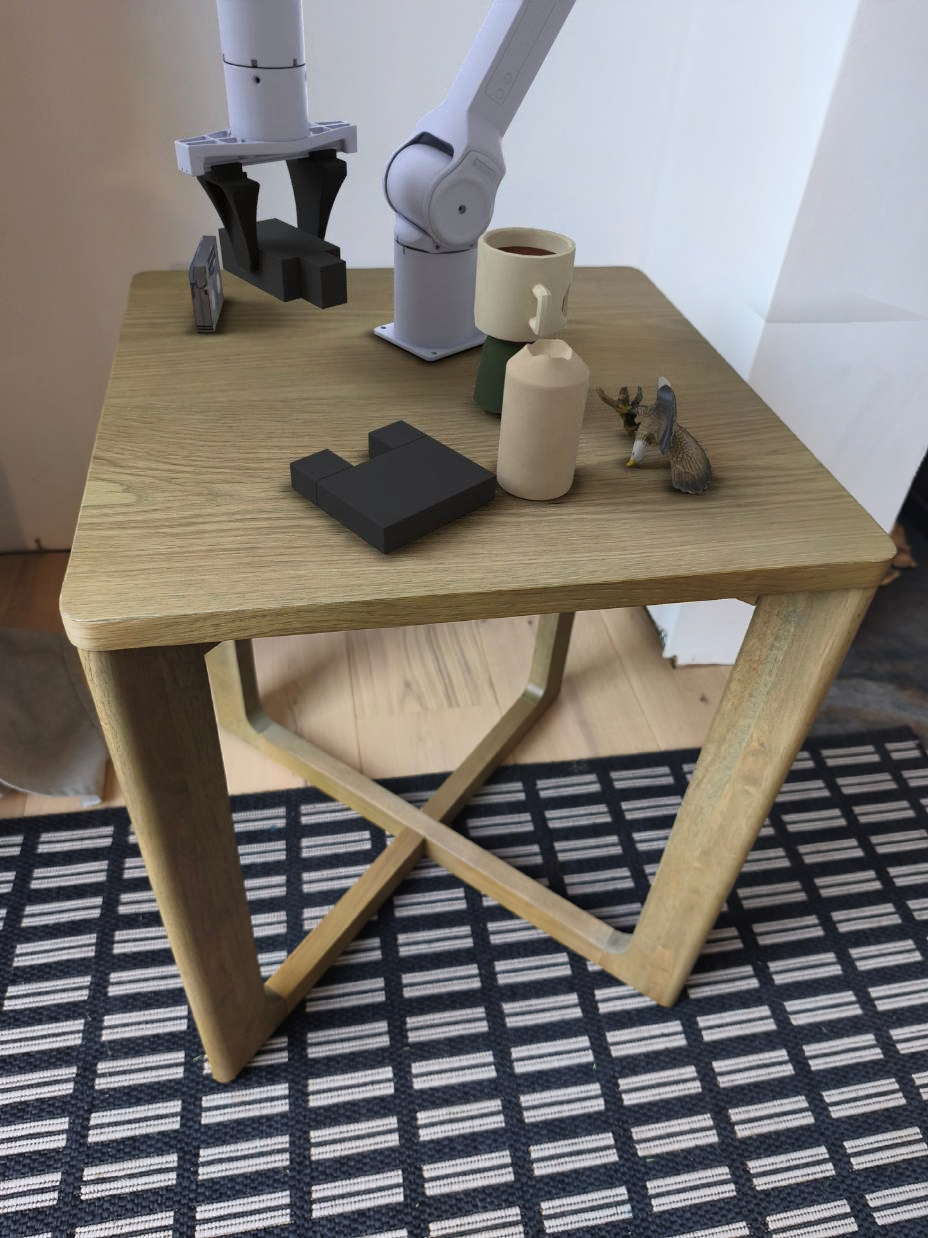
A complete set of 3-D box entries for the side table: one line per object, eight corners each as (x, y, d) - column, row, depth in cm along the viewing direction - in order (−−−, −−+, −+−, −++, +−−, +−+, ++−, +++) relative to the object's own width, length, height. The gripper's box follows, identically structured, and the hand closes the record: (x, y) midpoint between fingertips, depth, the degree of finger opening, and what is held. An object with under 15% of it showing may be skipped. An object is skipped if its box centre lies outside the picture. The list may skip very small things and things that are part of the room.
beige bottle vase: (567, 506, 59) (589, 370, 53) (489, 494, 60) (501, 358, 53) (575, 467, 63) (597, 335, 57) (502, 455, 64) (515, 325, 58)
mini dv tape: (208, 298, 84) (199, 234, 80) (223, 299, 84) (215, 235, 80) (197, 332, 78) (186, 265, 74) (214, 332, 78) (204, 265, 74)
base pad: (384, 554, 54) (384, 528, 53) (291, 488, 59) (289, 462, 58) (495, 499, 59) (497, 474, 58) (401, 443, 65) (401, 419, 63)
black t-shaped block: (305, 314, 65) (302, 270, 63) (222, 269, 71) (217, 228, 69) (363, 298, 68) (362, 257, 66) (279, 256, 74) (275, 217, 72)
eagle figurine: (569, 436, 64) (649, 473, 58) (614, 347, 63) (701, 374, 56) (632, 470, 69) (712, 507, 63) (675, 388, 68) (762, 417, 61)
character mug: (574, 435, 67) (600, 265, 59) (486, 442, 65) (501, 268, 57) (532, 374, 75) (550, 217, 66) (453, 379, 73) (461, 218, 65)
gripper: (316, 47, 66) (324, 232, 75) (140, 58, 58) (173, 263, 67) (373, 62, 62) (375, 254, 71) (194, 76, 55) (221, 290, 63)
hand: (280, 260), depth 69 cm, fingers closed on black t-shaped block, 5 cm apart
